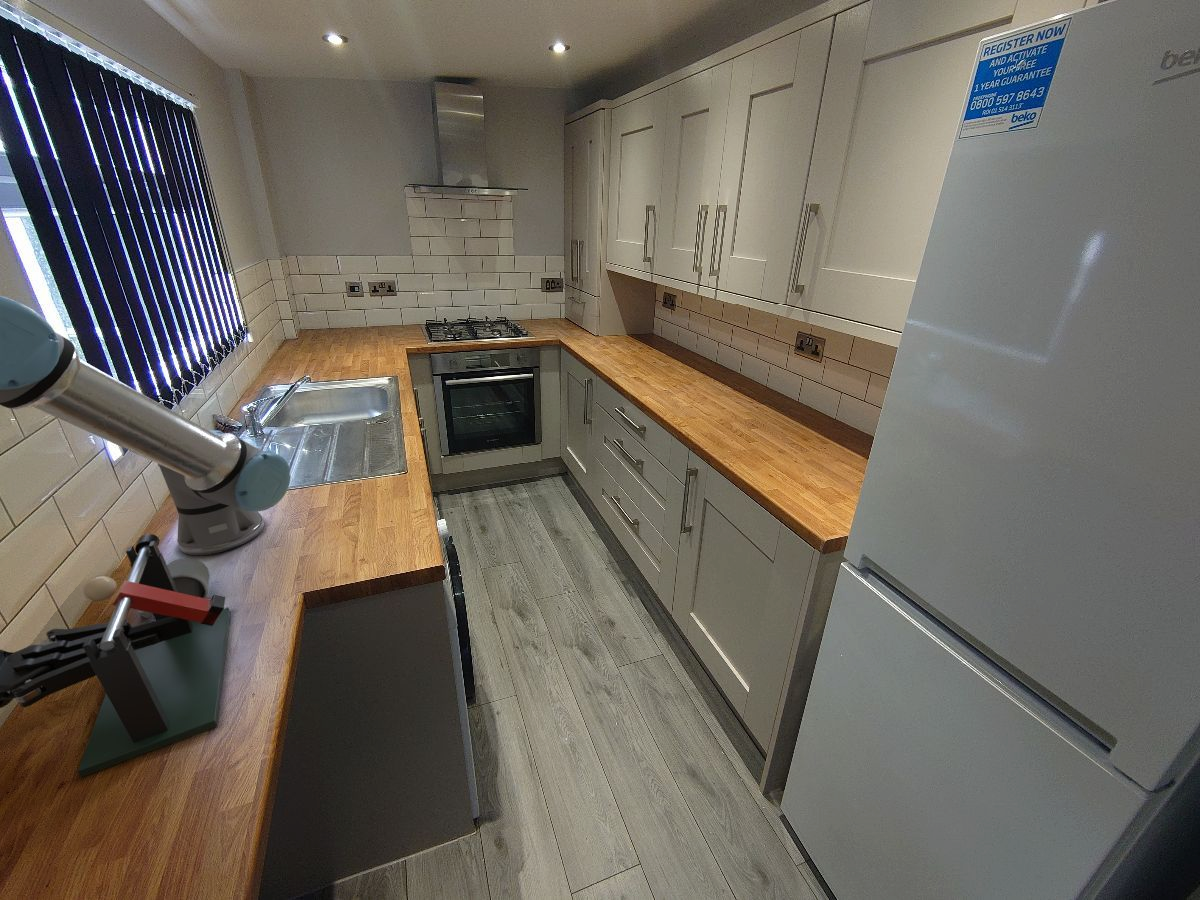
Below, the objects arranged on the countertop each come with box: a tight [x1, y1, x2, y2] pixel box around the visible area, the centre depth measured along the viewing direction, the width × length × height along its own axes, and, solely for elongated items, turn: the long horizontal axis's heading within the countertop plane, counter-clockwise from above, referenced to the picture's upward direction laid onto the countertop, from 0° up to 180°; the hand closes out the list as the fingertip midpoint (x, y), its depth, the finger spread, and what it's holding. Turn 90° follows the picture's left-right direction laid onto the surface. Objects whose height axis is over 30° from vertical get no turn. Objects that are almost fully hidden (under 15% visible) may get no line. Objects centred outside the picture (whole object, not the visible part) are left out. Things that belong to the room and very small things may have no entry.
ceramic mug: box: [137, 557, 210, 619], centre depth 92 cm, size 11×8×8 cm
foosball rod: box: [82, 533, 226, 651], centre depth 75 cm, size 26×4×16 cm
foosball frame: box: [77, 541, 231, 778], centre depth 74 cm, size 26×14×17 cm, turn 30°
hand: (189, 622), depth 76 cm, fingers closed
